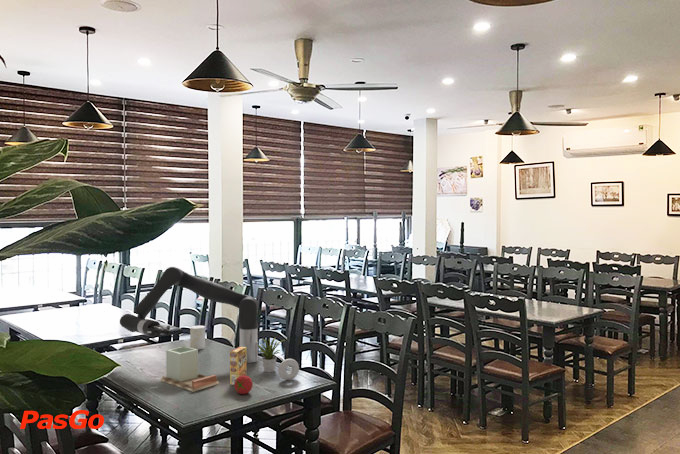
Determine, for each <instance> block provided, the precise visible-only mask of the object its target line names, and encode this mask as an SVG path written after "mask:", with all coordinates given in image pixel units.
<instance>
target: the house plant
mask: <svg viewBox="0 0 680 454" xmlns="http://www.w3.org/2000/svg"><path fill="white" fill-rule="evenodd" d="M262 340H263V341H264V342H265V346H264V344H263V343H262V342H260V341H258V340H257V342H258V343H259V344H260V345H259V344H258V345H257V346H258V348H259V349H258V351H259V352H260V353H263V354H261V356H263V357H261V360H262V366H263V367H262V368H263V372H265V373H271V372H275V370H276V363H277V356H274V355H276V354H280V353H281V352H282V351H281V349H276V348H277V347H278V346H279V345H280V343H282V342H284V341H286V340H285V339H283V340H280V341H279V340H276V337H274V338H273V339H272V340H270V339H268V341H267V340H266V339H264V338H262ZM270 341H271V342H270ZM275 349H276V350H275ZM279 351H281V352H279Z"/></svg>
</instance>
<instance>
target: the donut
mask: <svg viewBox="0 0 680 454" xmlns="http://www.w3.org/2000/svg"><path fill="white" fill-rule="evenodd" d="M299 366H300V365H299V363H298V361H296V360H295V359H293V358H287V359H284V360H283V361H282V362H281V363H280V364H279V366H278V369H277V370H278V375H279V376H280V378H281V379H282V380H285V381H292V380H293V379H295V378H296V377H297V375H298V374H299V371H300V367H299ZM288 367H291V370H290V372H287V368H288Z"/></svg>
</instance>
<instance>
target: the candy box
mask: <svg viewBox="0 0 680 454" xmlns="http://www.w3.org/2000/svg"><path fill="white" fill-rule="evenodd" d="M247 364H248V363H247V356H246V347H240V346H238V347H236V348H234V349H232V350H230V351H229V385H231V386H232V385H234V384H235V380H236V379H237V378H238V377H239V376H242V375H245V376H248V375H247V370H248V369H247V366H248V365H247ZM234 386H235V385H234Z"/></svg>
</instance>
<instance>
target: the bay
mask: <svg viewBox="0 0 680 454" xmlns="http://www.w3.org/2000/svg"><path fill="white" fill-rule="evenodd" d="M217 378H218V377H217V375H216V374H211V375H209V376H208V375H205V374H201V373H198V377H196V378H192V379H189V380H185V381H182V382H180V381H177V380H174V379H171V378H168V377H166V376H162V377H161V378H160V382H163V383H166V384H169V385H172V386H175V387H178V388H181V389H183V390H187V391H190V392H192V393H193V392H197V391H200V390H203V389H204V390H205V389H207V388H210V387H213V386H217V385H219V384H220V382H219V380H218V379H217Z"/></svg>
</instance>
